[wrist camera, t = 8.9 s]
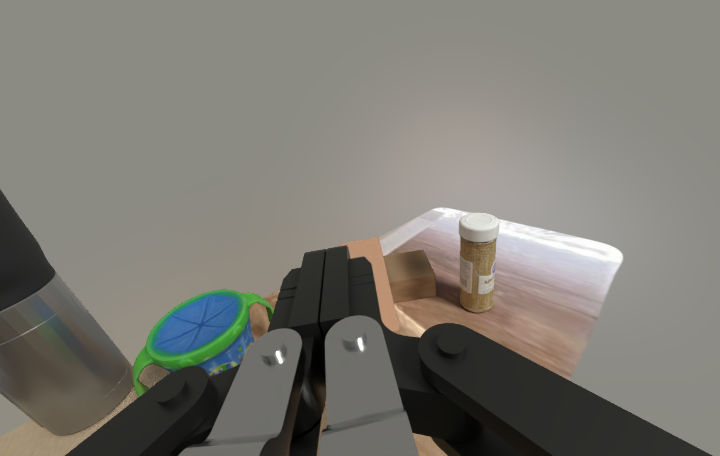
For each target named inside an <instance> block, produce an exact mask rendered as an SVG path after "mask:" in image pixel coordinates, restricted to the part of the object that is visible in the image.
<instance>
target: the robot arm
mask: <svg viewBox="0 0 720 456" xmlns="http://www.w3.org/2000/svg"><path fill="white" fill-rule="evenodd" d="M133 385H134V383H133V366H132V365H131V364H130V363H129V361H128V360H127V359H126V358H125V356H124V355H123V354H122V353H121V351H120V350H119V349H118V348H117V346H116V345H115V344H114V343H113V341H112V340H111V339H110V338H109V336H108V335H107V334H106V333H105V332H104V330H103V329H102V328H101V327H100V325H99V324H98V323H97V322H96V320H95V319H94V318H93V317H92V315H91V314H90V313H89V312H88V310H87V309H86V308H85V307H84V305H83V304H82V303H81V302H80V301H79V299H78V298H77V297H76V296H75V294H74V293H73V292H72V291H71V290H70V288H69V287H68V286H67V285H66V284H65V282H64V281H63V280H62V279H61V277H60V276H59V275H58V274H57V273H56V271H55V270H54V269H53V267H52V266H51V265H50V264H49V262H48V261H47V259H46V257H45V255H44V253H43V251H42V250H41V248H40V246H39V244H38V242H37V241H36V239H35V238H34V237H33V235H32V234H31V232H30V231H29V230H28V228H27V227H26V226H25V224H24V223H23V222H22V220H21V219H20V217H19V216H18V215H17V213H16V212H15V210H14V209H13V207H12V206H11V204H10V203H9V202H8V200H7V199H6V197H5V196H4V194H3V193H2V191H1V190H0V393H1V394H2V395H3V396H4V397H5V398H7V399H8V400H9V401H10V402H11V403H13V404H14V405H15V406H16V407H18V408H19V409H20V410H21V411H22V412H24V413H25V414H26V415H27V416H29V417H30V418H31V419H32V420H33V421H35V422H36V423H37V424H38V425H40V426H41V427H45V428H47V429H48V430H49V431H50V432H52V433H53V434H55V435H60V436H63V435H70V434H73V433H76V432H79V431H81V430H83V429H85V428H87V427H89V426H91V425H92V424H94V423H96V422H97V421H99V420H100V419H102V418H103V417H104V416H106V415H107V414H108V413H110V412H111V411H112V410H113V409H114V408H115V407H116V406H117V405H118V404H119V403H120V402H121V401H122V400H123V399H124V398H125V397H126V395H127V394H128V393H129V391H130V390H131V388H132V386H133ZM325 400H326V402H327V408H326V405H325ZM413 433H416V434H421V435H425V436H430V437H431V438H432V439H433V441H434V442H435V443H436V444H437V446H438V447H439V448H441V449H442V450H443V451H444V452H445V453H446V454H447V455H448V456H712V455H710V454H708V453H706V452H704V451H703V450H701V449H699V448H697V447H695V446H693V445H691V444H689V443H687V442H685V441H683V440H682V439H680V438H678V437H676V436H674V435H672V434H670V433H668V432H666V431H664V430H662V429H660V428H659V427H657V426H655V425H653V424H651V423H649V422H647V421H645V420H643V419H641V418H640V417H638V416H636V415H634V414H632V413H630V412H628V411H626V410H624V409H622V408H620V407H618V406H617V405H615V404H613V403H611V402H609V401H607V400H605V399H603V398H601V397H599V396H598V395H596V394H594V393H592V392H590V391H588V390H586V389H584V388H582V387H580V386H578V385H577V384H575V383H573V382H571V381H569V380H567V379H565V378H563V377H561V376H559V375H558V374H556V373H554V372H552V371H550V370H548V369H546V368H544V367H542V366H540V365H538V364H537V363H535V362H533V361H531V360H529V359H527V358H525V357H523V356H521V355H519V354H517V353H516V352H514V351H512V350H510V349H508V348H506V347H504V346H502V345H500V344H498V343H496V342H495V341H493V340H491V339H489V338H487V337H485V336H483V335H481V334H479V333H477V332H475V331H474V330H472V329H470V328H468V327H465V326H463V325H459V324H454V323H443V324H438V325H435V326H432V327H431V328H429V329H427V330H426V331H425V332H424V333H423V334H422V336H421V338H419V337H409V336H403V335H400V334H397V333H395V332H393V331H391V330H389V329H388V328H387V327H386V326H385V325H384V324H383V322H382V319H381V313H380V307H379V302H378V296H377V291H376V285H375V280H374V274H373V269H372V264H371V263H370V262H369V261H368V260H367V259H366V258H365V257H364V256H363V257H357V258H352V259H351V258H350V253H349V249H348V246H347V245H345V246H339V247H334V248H329V249H327V250H326V249H323V250H318V251H312V252H306V253H305V254H304V257H303V262H302V266H301V268H296V269H292V270H291V271H290V272H289V273H288V275H287V276H286V277H285V278H284V279H283V283H282V286H281V289H280V292H279V295H278V301H277V302H276V305H275V309H274V312H273V315H272V319H271V322H270V325H269V328H268V332H267V333H266V334H264V335H262V336H261V337H259V338H258V339H257V340H256V341H254V342H253V344H252V345H251V346H250V347H249V349H248V350H247V352H246V354H245V356H244V358H243V361H242V363H241V364H239V365H237V366H235V367H232V368H230V369H228V370H226V371H223V372H221V373H219V374H217V375H214V376H212V377H209V375H208V373H207V372H206V370H205V369H204V368H202V367H199V366H188V367H184V368H181V369H178V370H176V371H174V372H172V373H171V374H169V375H167V376H166V377H164V378H163V379H162V380H160V381H159V382H158V383H156V384H155V385H154V386H153V387H151V388H150V389H149V390H148V391H146V392H145V393H144V394H142V395H141V396H140V397H139V398H137V399H136V400H135V401H134V402H132V403H131V404H130V405H129V406H127V407H126V408H125V409H123V410H122V411H121V412H120V413H118V414H117V415H116V416H115V417H113V418H112V419H111V420H110V421H108V422H107V423H106V424H104V425H103V426H102V427H101V428H99V429H98V430H97V431H96V432H94V433H93V434H92V435H90V436H89V437H88V438H87V439H85V440H84V441H83V442H82V443H80V444H79V445H78V446H77V447H75V448H74V449H73V450H71V451H70V452H69V453H68V454H66V455H65V456H419V455H418V451H417V448H416V444H415V440H414V437H413Z"/></svg>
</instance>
